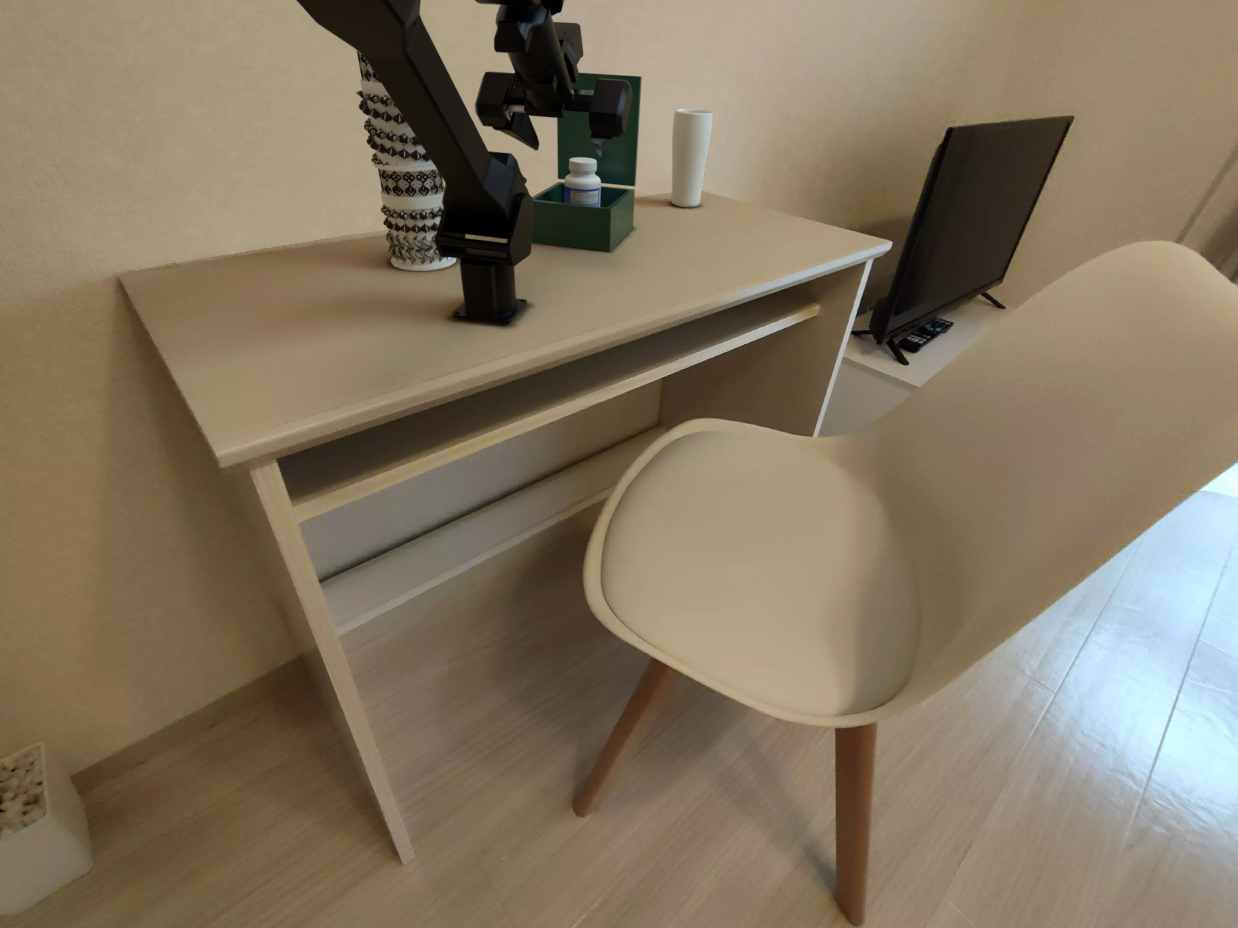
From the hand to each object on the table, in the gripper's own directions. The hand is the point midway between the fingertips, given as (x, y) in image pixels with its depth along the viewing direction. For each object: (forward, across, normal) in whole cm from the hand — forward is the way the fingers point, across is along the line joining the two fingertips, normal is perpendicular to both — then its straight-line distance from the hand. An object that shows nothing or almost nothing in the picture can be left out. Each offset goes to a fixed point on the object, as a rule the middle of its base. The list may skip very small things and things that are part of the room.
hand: (569, 150), depth 82 cm
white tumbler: (+31, -11, -14) cm, 36 cm away
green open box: (+13, 0, +5) cm, 14 cm away
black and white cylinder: (-1, +16, +19) cm, 25 cm away
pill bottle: (+13, 0, +4) cm, 13 cm away
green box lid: (+8, 0, -10) cm, 13 cm away
